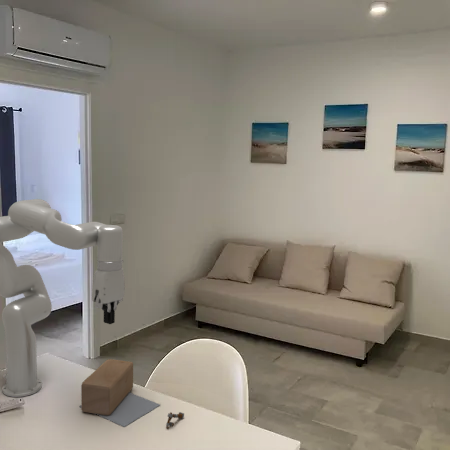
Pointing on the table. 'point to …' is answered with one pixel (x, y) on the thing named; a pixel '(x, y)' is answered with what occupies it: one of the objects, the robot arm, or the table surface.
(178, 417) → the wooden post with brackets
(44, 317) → the robot arm
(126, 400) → the mat
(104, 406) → the wooden block
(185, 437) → the table surface
